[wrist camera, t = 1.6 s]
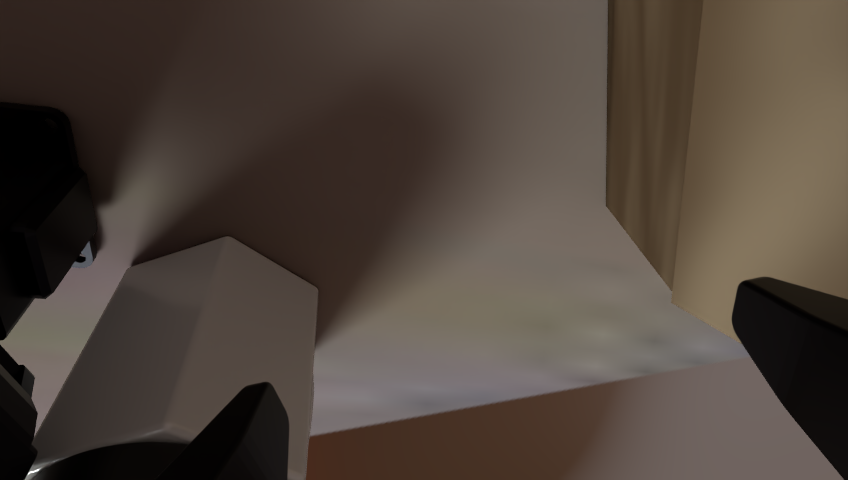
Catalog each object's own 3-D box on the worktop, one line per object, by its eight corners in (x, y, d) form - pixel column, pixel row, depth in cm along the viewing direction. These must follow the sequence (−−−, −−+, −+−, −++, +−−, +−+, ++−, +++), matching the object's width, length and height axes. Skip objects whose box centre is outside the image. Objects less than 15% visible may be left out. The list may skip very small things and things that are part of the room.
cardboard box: (605, 205, 23) (671, 290, 19) (610, -205, 15) (726, -237, 11) (883, 144, 23) (1019, 214, 19) (1032, -302, 15) (1340, -378, 11)
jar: (306, 387, 28) (283, 672, 18) (133, 376, 26) (2, 686, 16) (330, 245, 23) (318, 526, 13) (121, 219, 21) (-75, 522, 11)
